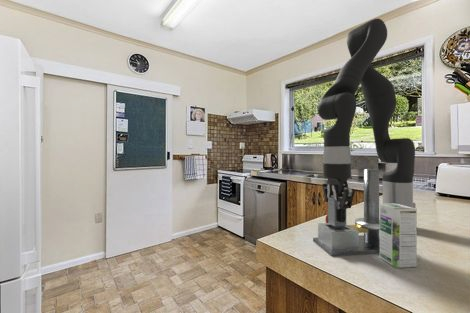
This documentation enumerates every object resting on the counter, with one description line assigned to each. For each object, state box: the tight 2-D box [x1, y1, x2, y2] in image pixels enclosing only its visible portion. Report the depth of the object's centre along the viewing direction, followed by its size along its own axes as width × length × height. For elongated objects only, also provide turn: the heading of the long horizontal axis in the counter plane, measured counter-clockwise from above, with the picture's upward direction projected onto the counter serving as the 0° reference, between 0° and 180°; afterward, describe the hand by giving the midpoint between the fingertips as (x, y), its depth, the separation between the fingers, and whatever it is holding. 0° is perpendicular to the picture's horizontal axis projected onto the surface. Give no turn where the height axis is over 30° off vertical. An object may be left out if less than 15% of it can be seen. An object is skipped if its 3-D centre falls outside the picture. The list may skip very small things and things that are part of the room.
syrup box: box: [379, 203, 418, 269], centre depth 57 cm, size 6×6×14 cm
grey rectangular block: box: [327, 197, 347, 226], centre depth 67 cm, size 4×4×8 cm
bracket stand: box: [312, 168, 380, 257], centre depth 68 cm, size 20×11×23 cm, turn 96°
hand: (337, 219), depth 67 cm, fingers closed on grey rectangular block, 3 cm apart
